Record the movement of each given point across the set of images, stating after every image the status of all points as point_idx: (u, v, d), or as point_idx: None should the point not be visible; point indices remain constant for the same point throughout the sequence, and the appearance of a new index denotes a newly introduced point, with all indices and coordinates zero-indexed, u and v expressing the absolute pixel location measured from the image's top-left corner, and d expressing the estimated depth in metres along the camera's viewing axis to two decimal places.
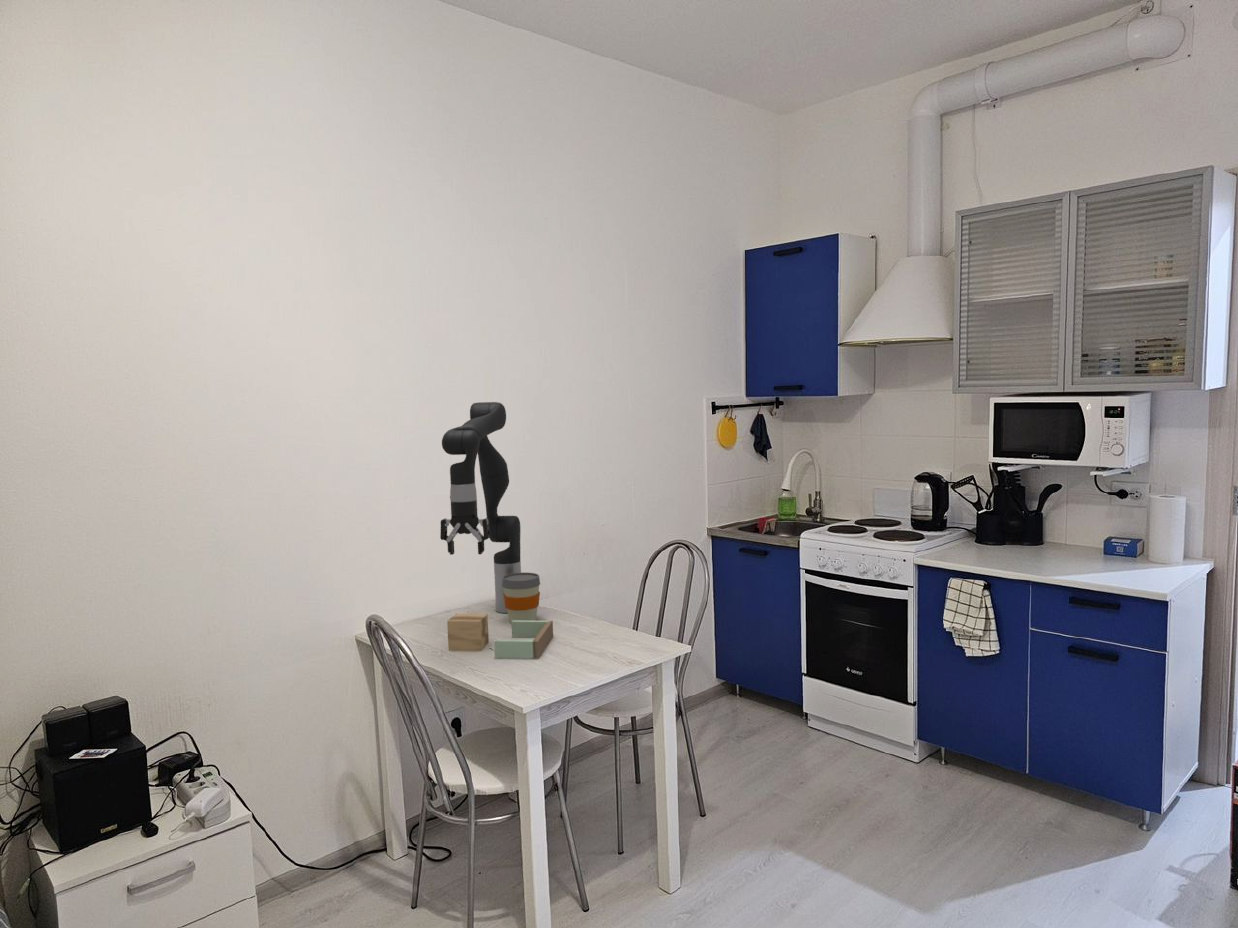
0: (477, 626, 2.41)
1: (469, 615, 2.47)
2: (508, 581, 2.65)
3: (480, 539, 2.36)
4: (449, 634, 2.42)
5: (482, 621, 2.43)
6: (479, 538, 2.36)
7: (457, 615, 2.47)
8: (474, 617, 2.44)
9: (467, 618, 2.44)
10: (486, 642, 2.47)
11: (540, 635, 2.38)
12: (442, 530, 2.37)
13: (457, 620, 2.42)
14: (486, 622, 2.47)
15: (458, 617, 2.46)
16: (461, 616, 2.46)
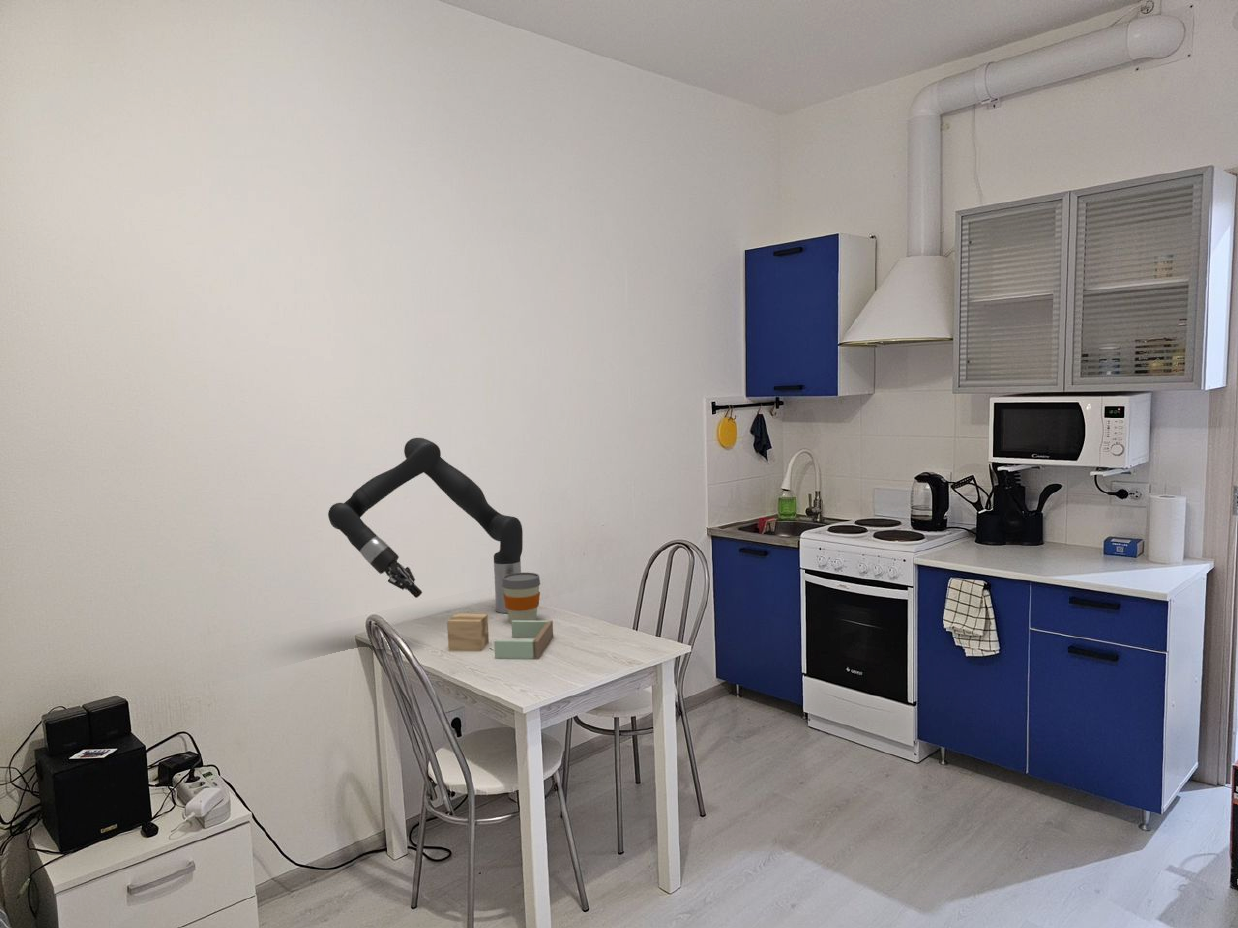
0: (476, 626, 2.41)
1: (469, 615, 2.47)
2: (508, 581, 2.65)
3: None
4: (449, 634, 2.42)
5: (482, 621, 2.43)
6: None
7: (458, 615, 2.47)
8: (474, 617, 2.44)
9: (467, 618, 2.44)
10: (486, 642, 2.47)
11: (540, 635, 2.38)
12: None
13: (457, 620, 2.42)
14: (486, 622, 2.47)
15: (458, 617, 2.46)
16: (461, 616, 2.46)
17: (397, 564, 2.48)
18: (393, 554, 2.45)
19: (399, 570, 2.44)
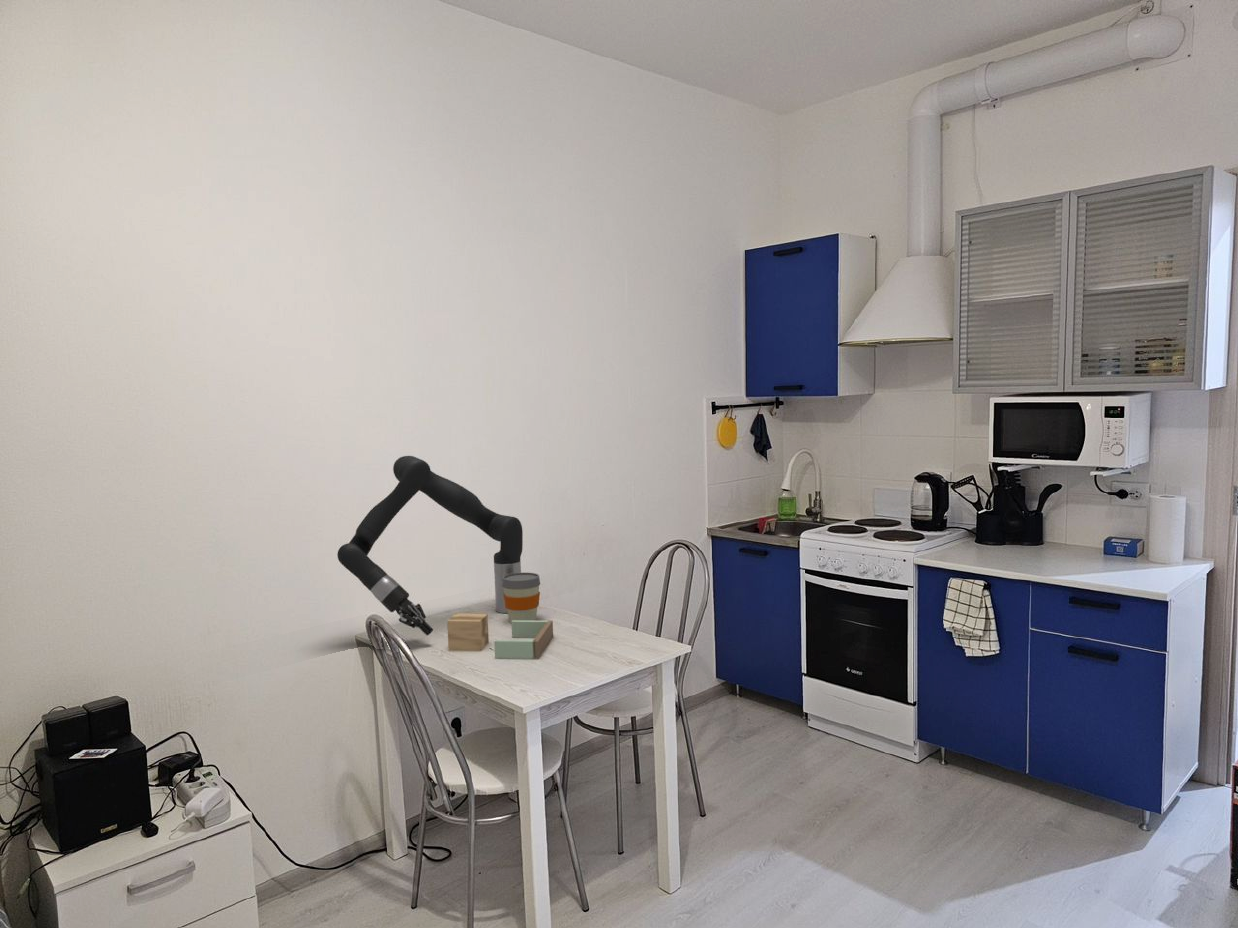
0: (476, 626, 2.41)
1: (469, 615, 2.47)
2: (508, 581, 2.65)
3: None
4: (449, 634, 2.42)
5: (482, 621, 2.43)
6: None
7: (458, 615, 2.47)
8: (474, 617, 2.44)
9: (467, 618, 2.44)
10: (486, 642, 2.47)
11: (540, 635, 2.38)
12: None
13: (457, 620, 2.42)
14: (486, 622, 2.47)
15: (458, 617, 2.46)
16: (461, 616, 2.46)
17: (408, 602, 2.49)
18: (403, 592, 2.46)
19: (410, 608, 2.45)
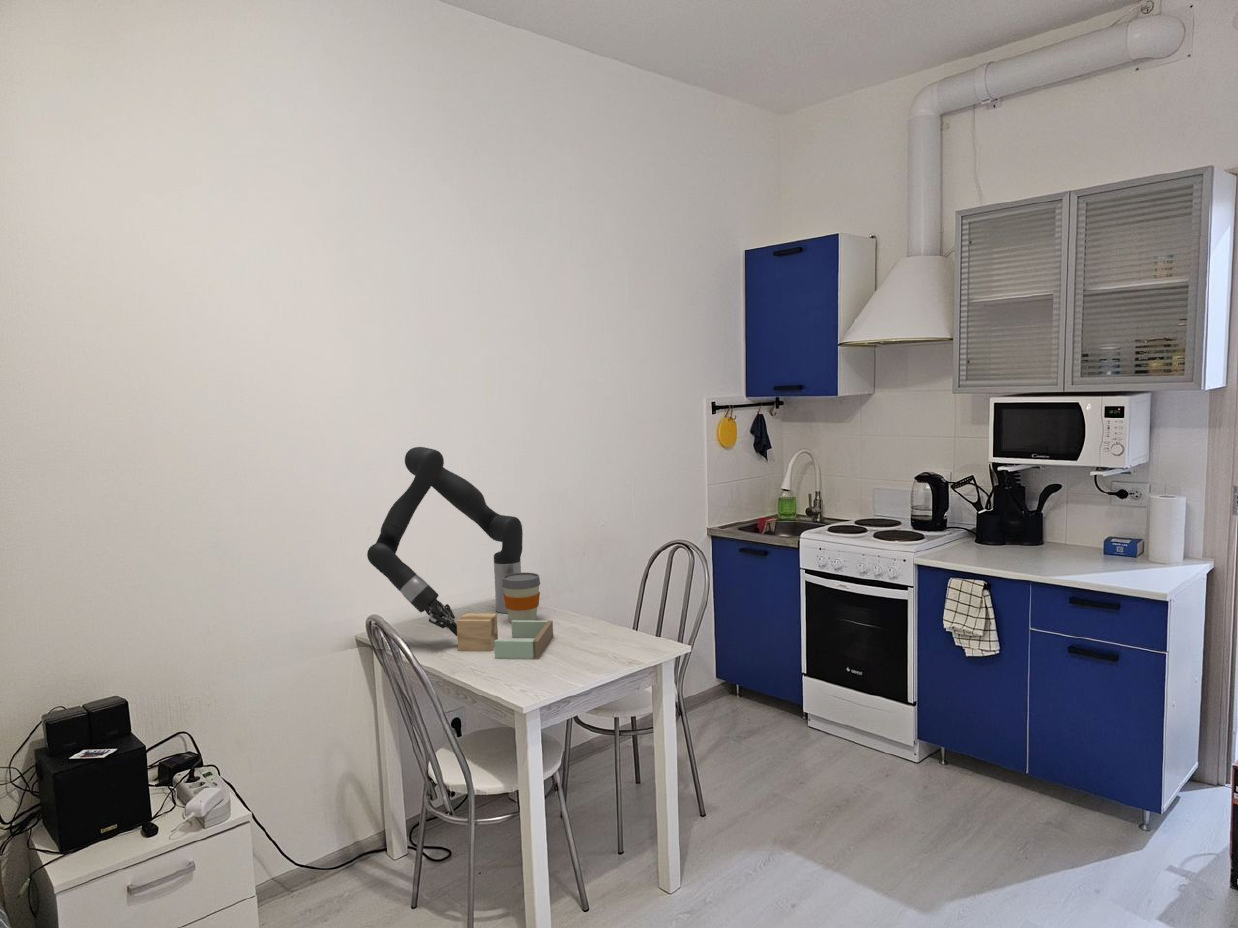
0: (486, 626, 2.40)
1: (478, 615, 2.47)
2: (508, 581, 2.65)
3: None
4: (458, 634, 2.42)
5: (491, 621, 2.42)
6: None
7: (467, 615, 2.47)
8: (484, 617, 2.44)
9: (476, 618, 2.44)
10: None
11: (540, 635, 2.38)
12: None
13: (466, 620, 2.42)
14: (495, 622, 2.47)
15: (467, 617, 2.45)
16: (470, 616, 2.46)
17: (437, 602, 2.48)
18: (433, 593, 2.45)
19: (439, 609, 2.44)
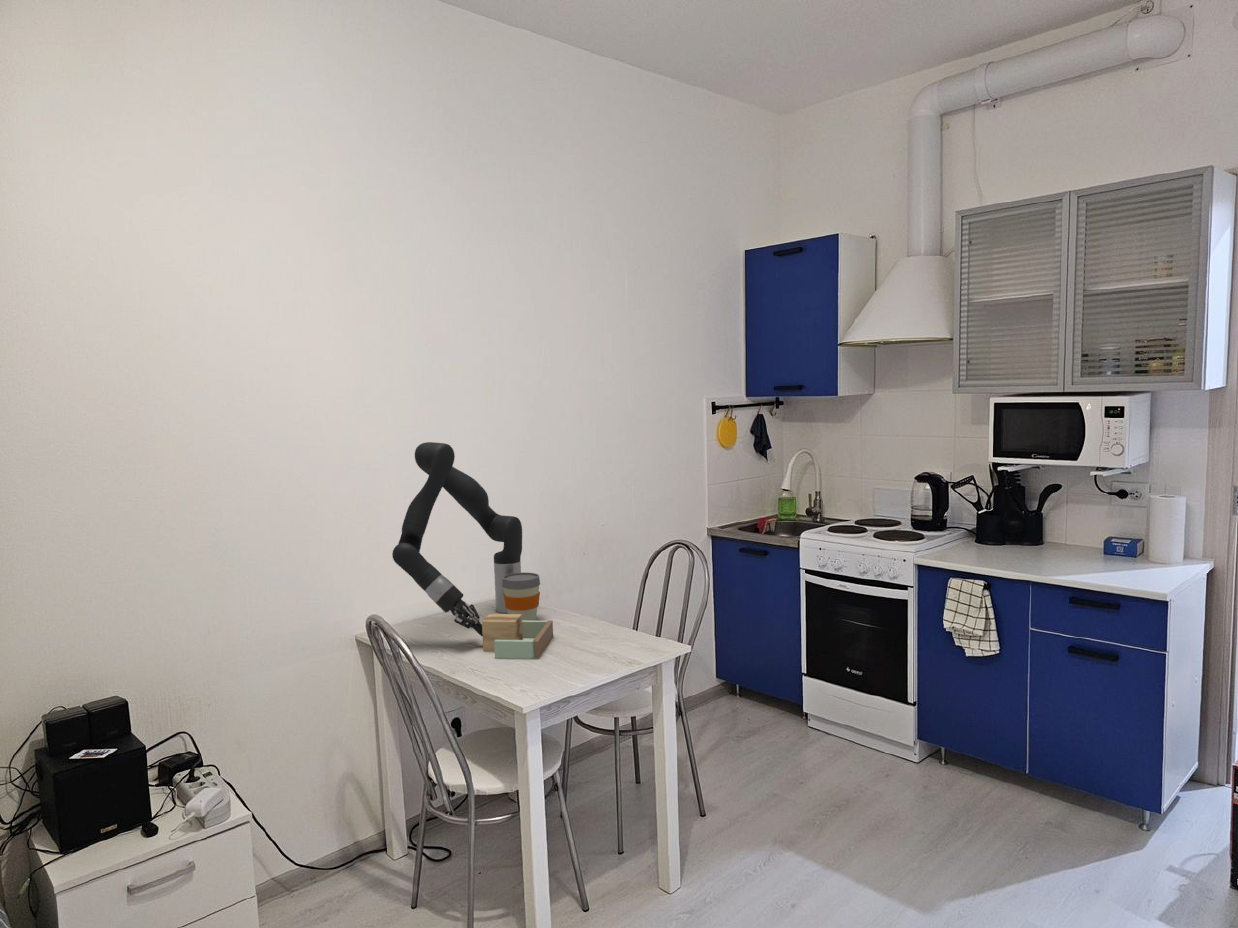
0: (511, 627, 2.39)
1: (503, 615, 2.46)
2: (508, 581, 2.65)
3: None
4: (484, 634, 2.40)
5: (516, 622, 2.41)
6: None
7: (492, 615, 2.46)
8: (509, 618, 2.43)
9: (501, 618, 2.42)
10: None
11: (540, 635, 2.38)
12: None
13: (492, 620, 2.41)
14: (520, 622, 2.45)
15: (492, 617, 2.44)
16: (495, 616, 2.45)
17: (462, 602, 2.47)
18: (458, 593, 2.44)
19: (465, 609, 2.43)
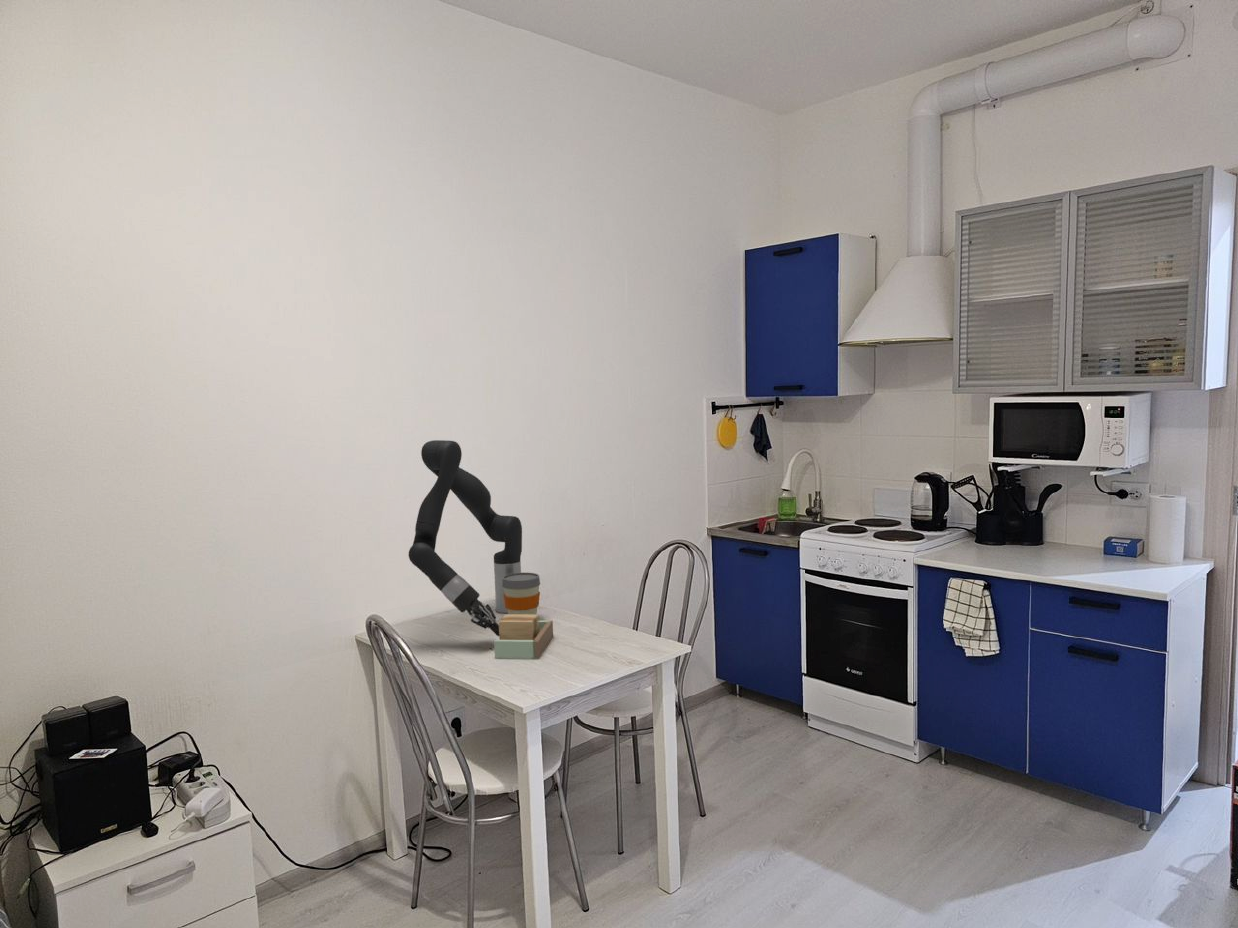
0: (529, 627, 2.38)
1: (520, 616, 2.45)
2: (508, 581, 2.65)
3: None
4: (500, 635, 2.40)
5: (533, 622, 2.40)
6: None
7: (508, 616, 2.45)
8: (525, 618, 2.42)
9: (518, 618, 2.42)
10: None
11: (540, 635, 2.38)
12: None
13: (509, 621, 2.40)
14: (537, 622, 2.45)
15: (509, 617, 2.43)
16: (511, 617, 2.44)
17: (478, 602, 2.46)
18: (474, 593, 2.43)
19: (481, 609, 2.42)
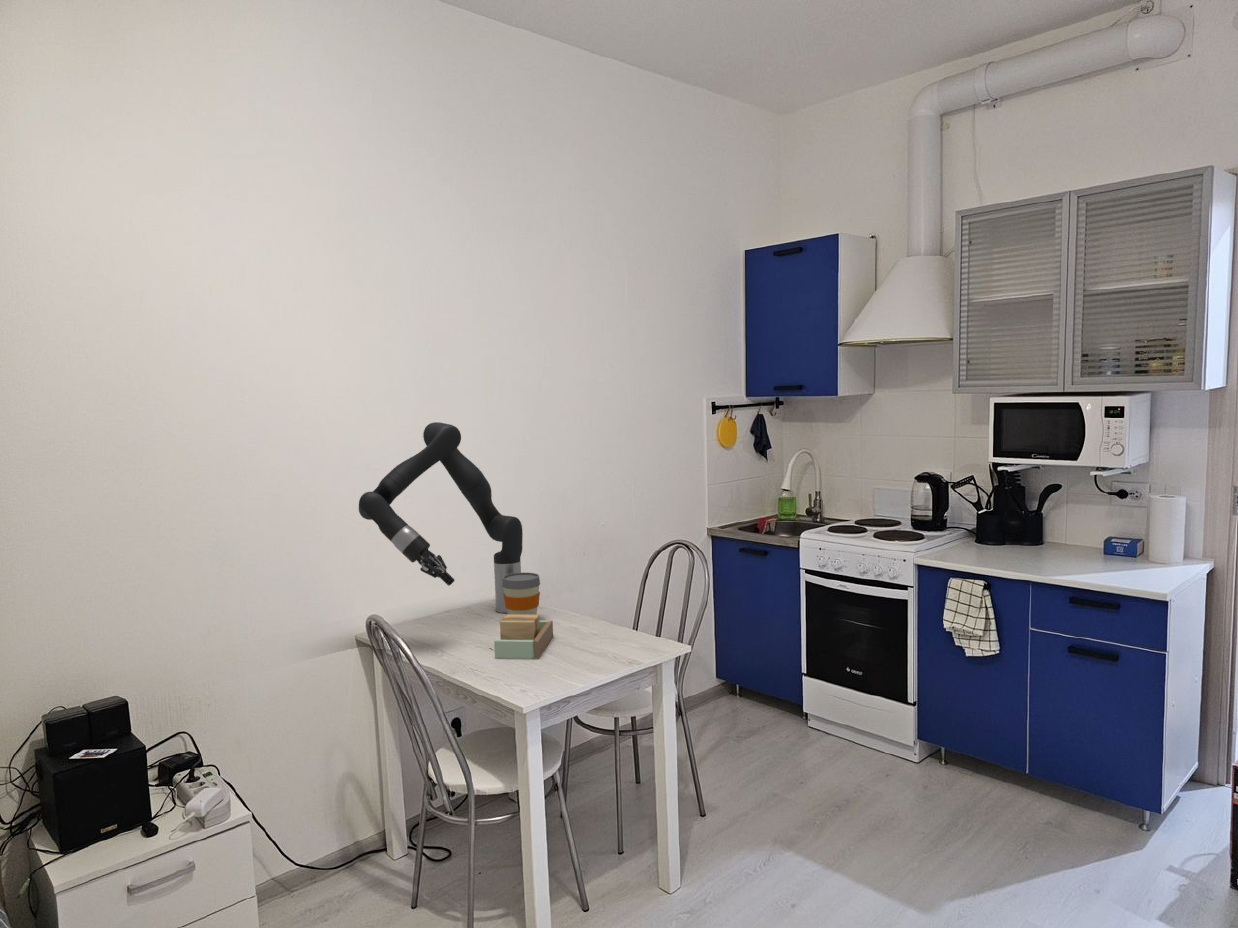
0: (530, 627, 2.38)
1: (521, 616, 2.45)
2: (508, 581, 2.65)
3: None
4: (502, 635, 2.40)
5: (534, 622, 2.40)
6: None
7: (509, 616, 2.45)
8: (527, 618, 2.42)
9: (519, 619, 2.42)
10: None
11: (540, 635, 2.38)
12: None
13: (510, 621, 2.40)
14: (538, 623, 2.45)
15: (510, 618, 2.43)
16: (513, 617, 2.44)
17: (428, 552, 2.47)
18: (424, 542, 2.44)
19: (431, 558, 2.43)
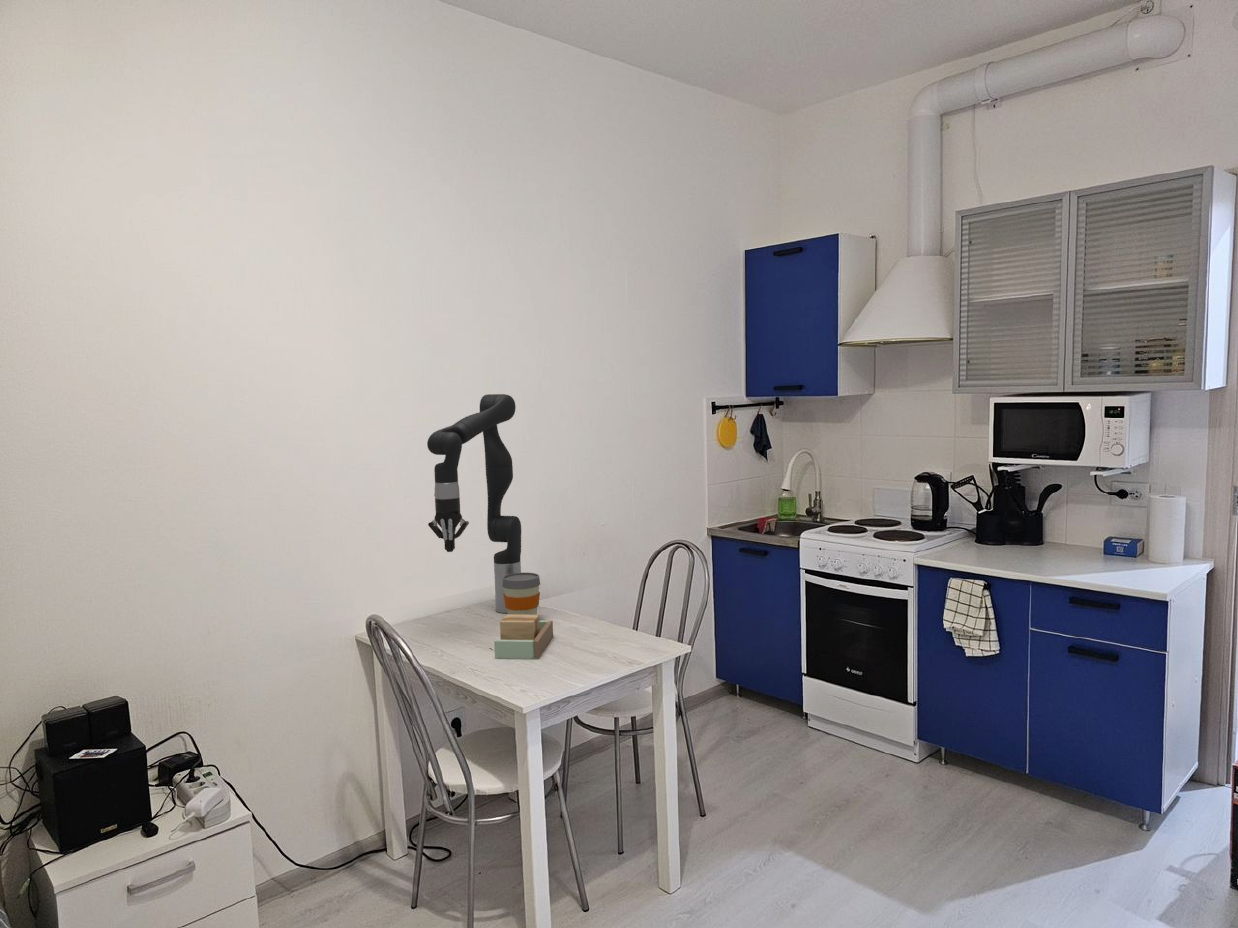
0: (530, 627, 2.38)
1: (521, 616, 2.45)
2: (508, 581, 2.65)
3: (451, 538, 2.53)
4: (502, 635, 2.40)
5: (534, 622, 2.40)
6: (450, 537, 2.53)
7: (509, 616, 2.45)
8: (527, 618, 2.42)
9: (519, 619, 2.42)
10: None
11: (540, 635, 2.38)
12: (435, 530, 2.53)
13: (510, 621, 2.40)
14: (538, 623, 2.45)
15: (510, 618, 2.43)
16: (513, 617, 2.44)
17: None
18: None
19: None
